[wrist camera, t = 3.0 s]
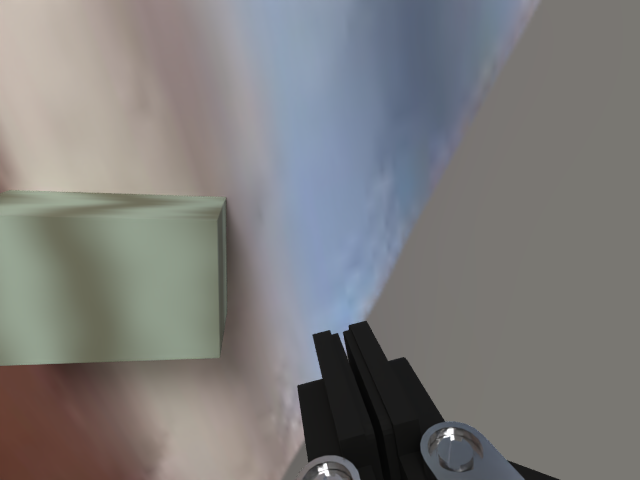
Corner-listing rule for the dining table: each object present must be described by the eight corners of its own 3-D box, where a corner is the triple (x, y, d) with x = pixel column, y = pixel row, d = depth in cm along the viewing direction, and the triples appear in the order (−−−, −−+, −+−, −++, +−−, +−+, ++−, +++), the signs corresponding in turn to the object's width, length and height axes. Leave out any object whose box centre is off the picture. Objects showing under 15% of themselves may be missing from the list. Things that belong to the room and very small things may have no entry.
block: (226, 196, 24) (217, 220, 19) (227, 309, 26) (219, 357, 21) (12, 189, 22) (-63, 214, 17) (35, 312, 25) (-24, 366, 19)
